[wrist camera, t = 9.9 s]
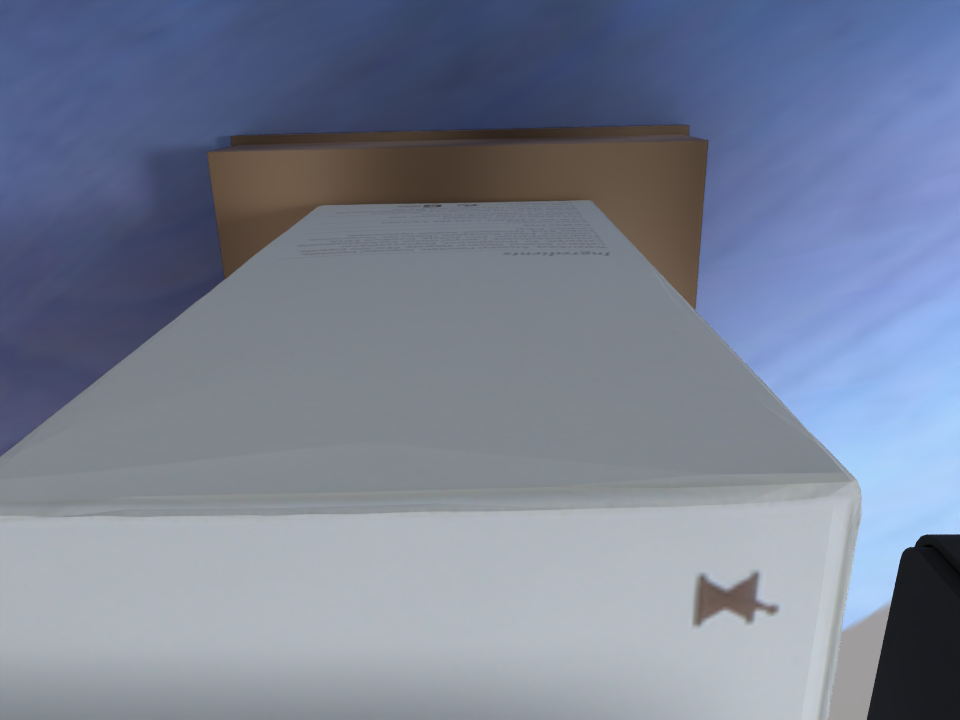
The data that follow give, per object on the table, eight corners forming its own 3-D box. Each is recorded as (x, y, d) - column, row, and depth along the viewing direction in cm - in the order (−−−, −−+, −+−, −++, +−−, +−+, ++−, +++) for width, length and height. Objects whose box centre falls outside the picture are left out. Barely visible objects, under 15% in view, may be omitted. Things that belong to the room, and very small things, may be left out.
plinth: (683, 124, 19) (718, 131, 16) (657, 513, 23) (682, 573, 20) (237, 135, 19) (196, 143, 17) (286, 521, 23) (259, 581, 20)
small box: (313, 201, 17) (-117, 494, 5) (596, 194, 17) (905, 473, 5) (344, 515, 20) (122, 1217, 7) (587, 510, 20) (767, 1210, 7)
